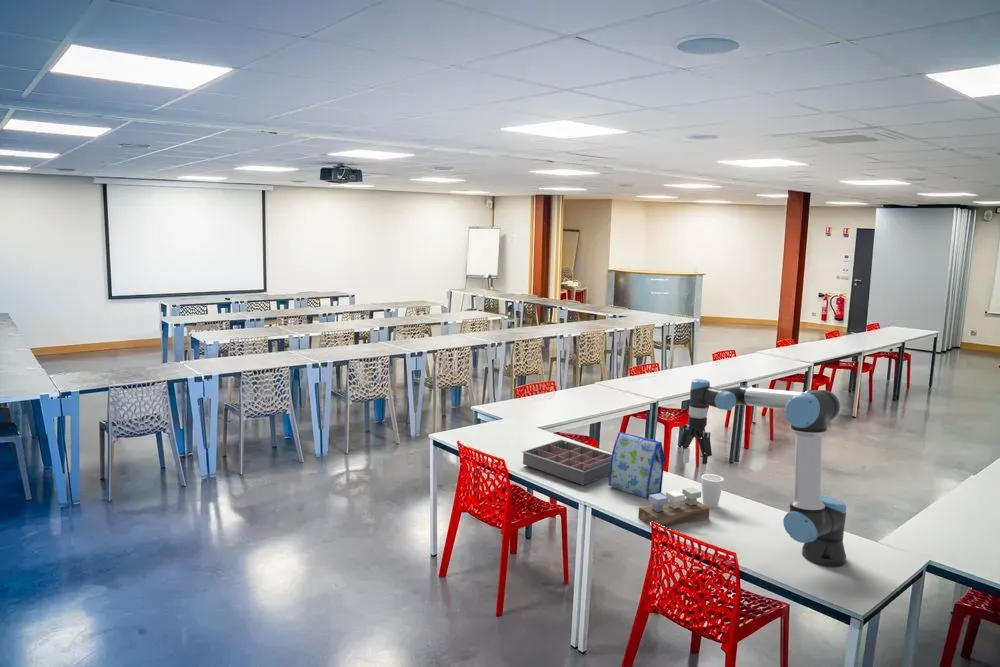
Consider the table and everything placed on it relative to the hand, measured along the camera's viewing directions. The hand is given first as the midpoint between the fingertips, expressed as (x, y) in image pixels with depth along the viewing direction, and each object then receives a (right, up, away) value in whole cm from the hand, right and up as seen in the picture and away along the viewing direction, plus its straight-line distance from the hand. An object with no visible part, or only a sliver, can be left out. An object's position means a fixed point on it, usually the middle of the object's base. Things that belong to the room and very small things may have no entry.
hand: (694, 466), depth 290 cm
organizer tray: (-47, -13, +56) cm, 74 cm away
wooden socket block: (-9, -22, -1) cm, 24 cm away
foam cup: (+11, -20, +15) cm, 28 cm away
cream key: (-9, -17, -2) cm, 19 cm away
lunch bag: (-19, -17, +31) cm, 40 cm away
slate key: (-17, -17, -5) cm, 25 cm away
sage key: (-1, -16, +2) cm, 17 cm away
